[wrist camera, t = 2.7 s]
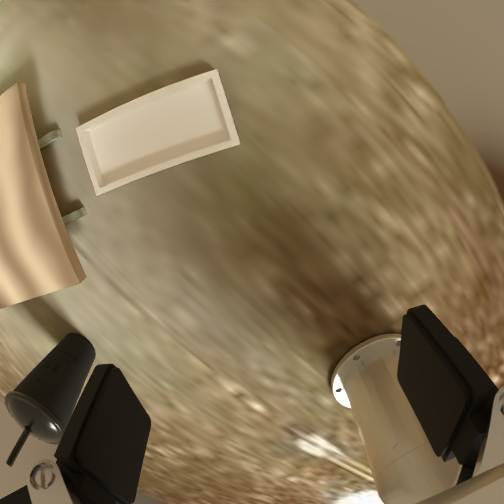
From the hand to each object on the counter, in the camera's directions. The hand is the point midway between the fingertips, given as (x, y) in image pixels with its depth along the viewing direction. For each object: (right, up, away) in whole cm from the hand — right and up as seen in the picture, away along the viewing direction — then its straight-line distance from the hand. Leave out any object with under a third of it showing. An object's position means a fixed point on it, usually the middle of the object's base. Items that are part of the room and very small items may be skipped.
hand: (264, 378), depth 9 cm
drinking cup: (-23, -9, +26) cm, 35 cm away
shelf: (-25, +10, +18) cm, 33 cm away
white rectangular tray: (-9, +15, +17) cm, 24 cm away
